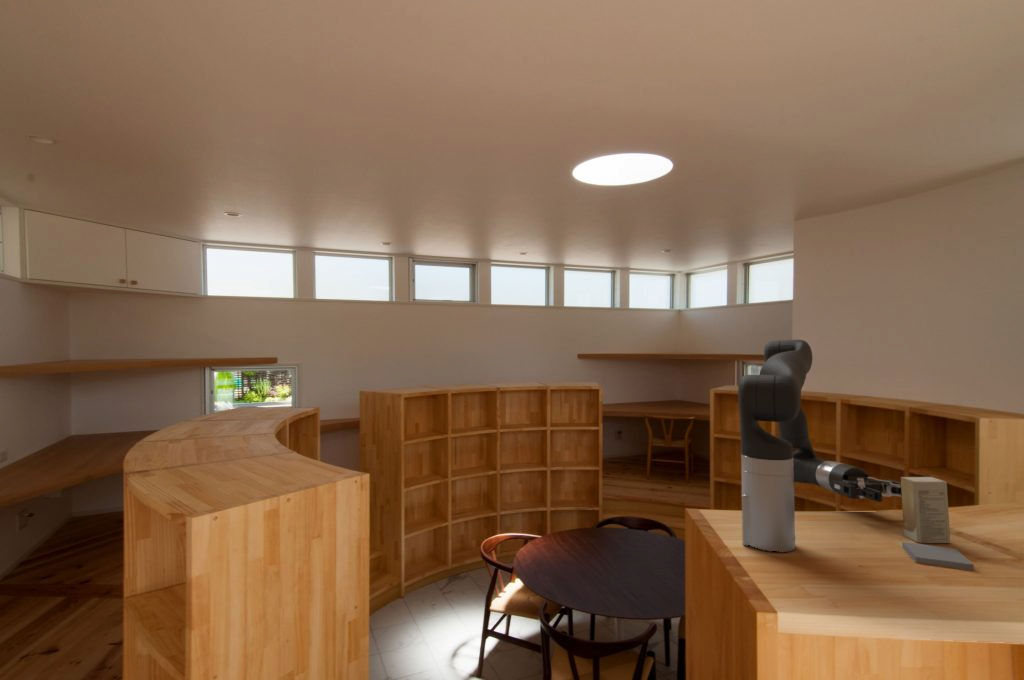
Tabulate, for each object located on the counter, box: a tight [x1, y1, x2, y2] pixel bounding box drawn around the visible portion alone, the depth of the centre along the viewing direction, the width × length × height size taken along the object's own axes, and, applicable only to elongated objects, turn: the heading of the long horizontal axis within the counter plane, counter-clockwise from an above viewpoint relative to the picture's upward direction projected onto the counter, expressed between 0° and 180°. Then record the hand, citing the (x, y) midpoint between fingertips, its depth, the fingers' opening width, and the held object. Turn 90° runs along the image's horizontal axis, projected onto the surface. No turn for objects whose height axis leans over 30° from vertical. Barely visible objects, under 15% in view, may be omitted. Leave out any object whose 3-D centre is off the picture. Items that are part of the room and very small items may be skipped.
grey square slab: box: [901, 541, 975, 571], centre depth 90 cm, size 8×8×1 cm
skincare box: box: [900, 476, 951, 544], centre depth 100 cm, size 6×4×12 cm
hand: (899, 496), depth 106 cm, fingers open, 8 cm apart
